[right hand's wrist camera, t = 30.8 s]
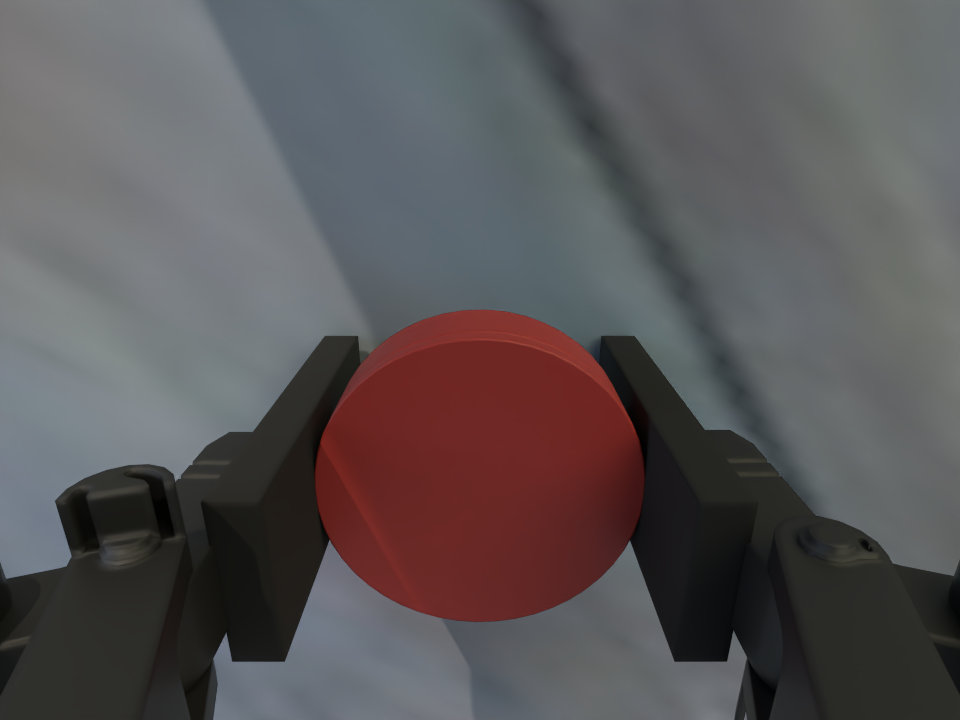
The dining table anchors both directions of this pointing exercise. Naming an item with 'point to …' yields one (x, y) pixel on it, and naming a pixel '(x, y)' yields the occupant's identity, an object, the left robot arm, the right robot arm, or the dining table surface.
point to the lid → (479, 468)
